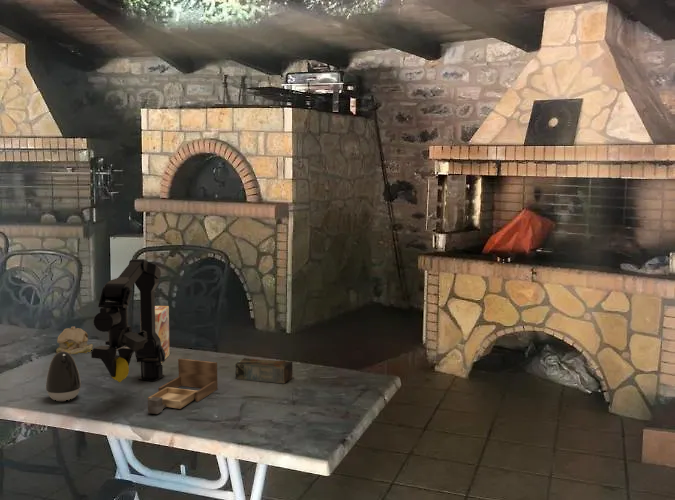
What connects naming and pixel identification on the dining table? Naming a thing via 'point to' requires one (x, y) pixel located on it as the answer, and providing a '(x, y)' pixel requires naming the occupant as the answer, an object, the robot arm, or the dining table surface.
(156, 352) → the robot arm
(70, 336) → the ceramic model
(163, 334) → the coffeecake box
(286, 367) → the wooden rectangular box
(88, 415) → the dining table surface
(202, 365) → the open wooden box
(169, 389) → the wooden drawer
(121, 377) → the lemon
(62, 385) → the brown tapered dome
